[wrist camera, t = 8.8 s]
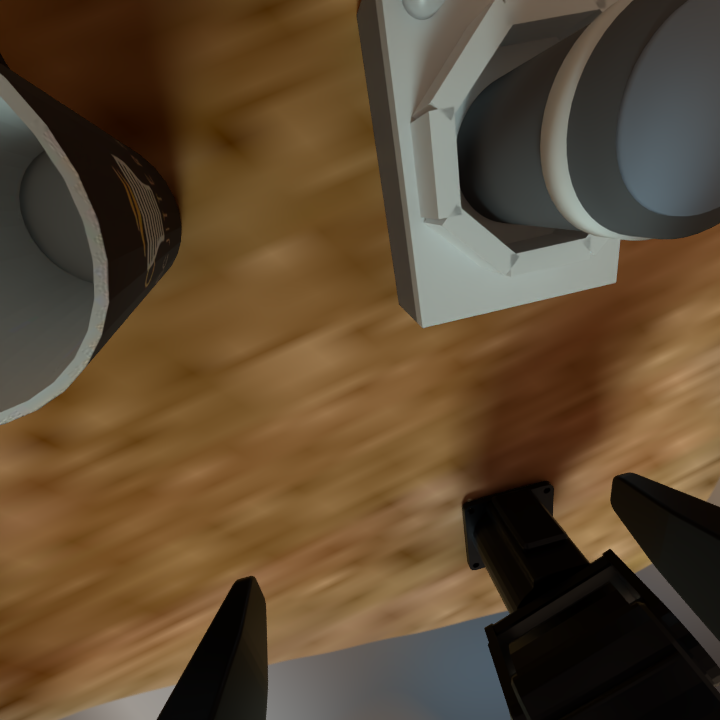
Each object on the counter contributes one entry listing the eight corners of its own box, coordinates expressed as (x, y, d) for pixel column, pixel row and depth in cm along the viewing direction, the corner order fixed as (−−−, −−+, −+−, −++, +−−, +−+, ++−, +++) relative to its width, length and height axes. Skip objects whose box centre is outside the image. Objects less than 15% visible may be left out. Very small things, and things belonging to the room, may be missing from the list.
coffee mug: (186, 337, 19) (82, 466, 10) (-22, 279, 16) (-419, 379, 7) (247, 77, 15) (174, -111, 6) (-9, -46, 13) (-765, -660, 4)
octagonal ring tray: (558, 268, 20) (655, 292, 15) (399, 304, 20) (438, 343, 14) (568, -21, 16) (717, -142, 10) (356, 15, 15) (392, -93, 9)
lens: (609, 105, 14) (890, 20, 7) (540, 244, 16) (720, 275, 9) (491, 37, 12) (710, -145, 6) (430, 197, 14) (548, 194, 8)
